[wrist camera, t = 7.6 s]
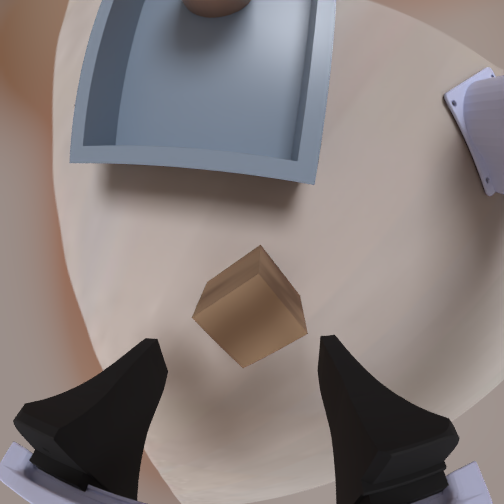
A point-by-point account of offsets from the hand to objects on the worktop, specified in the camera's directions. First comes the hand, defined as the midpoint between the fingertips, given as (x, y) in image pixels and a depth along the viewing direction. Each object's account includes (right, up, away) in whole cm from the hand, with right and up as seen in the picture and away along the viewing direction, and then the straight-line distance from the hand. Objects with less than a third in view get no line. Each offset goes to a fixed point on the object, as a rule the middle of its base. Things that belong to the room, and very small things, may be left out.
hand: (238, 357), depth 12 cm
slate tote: (-2, +19, +3) cm, 19 cm away
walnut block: (+1, +2, +9) cm, 10 cm away
